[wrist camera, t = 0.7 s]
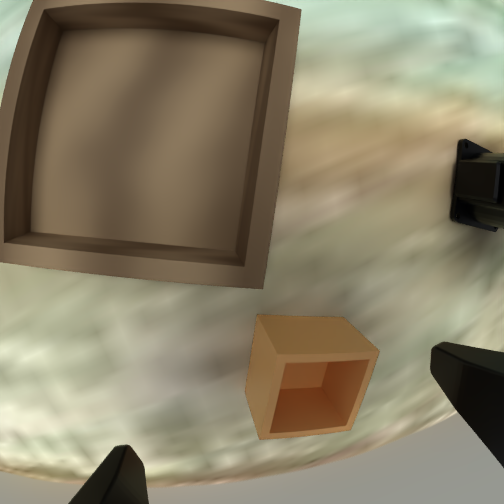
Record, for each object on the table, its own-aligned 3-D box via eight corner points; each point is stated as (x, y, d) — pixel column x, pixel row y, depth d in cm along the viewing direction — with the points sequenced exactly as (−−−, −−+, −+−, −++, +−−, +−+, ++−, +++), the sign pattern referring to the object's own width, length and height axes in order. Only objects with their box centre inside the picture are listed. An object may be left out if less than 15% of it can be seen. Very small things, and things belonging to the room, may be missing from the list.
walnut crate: (280, 37, 16) (301, 9, 12) (247, 266, 19) (262, 289, 15) (57, 23, 13) (34, -4, 9) (23, 244, 16) (-10, 260, 12)
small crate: (342, 316, 21) (379, 350, 16) (323, 388, 22) (350, 430, 18) (256, 313, 20) (277, 354, 15) (244, 390, 21) (259, 439, 16)
